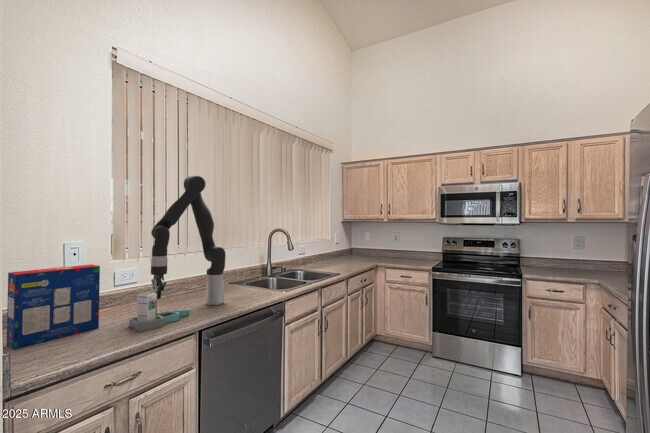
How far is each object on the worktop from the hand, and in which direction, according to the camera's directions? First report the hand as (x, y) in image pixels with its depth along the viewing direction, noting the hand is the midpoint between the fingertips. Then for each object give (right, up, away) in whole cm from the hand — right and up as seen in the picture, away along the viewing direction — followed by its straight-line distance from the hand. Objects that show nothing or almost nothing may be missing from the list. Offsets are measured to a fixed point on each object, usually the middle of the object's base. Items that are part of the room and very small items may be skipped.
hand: (158, 298), depth 164 cm
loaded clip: (+11, -9, 0) cm, 14 cm away
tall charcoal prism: (+5, -9, -4) cm, 11 cm away
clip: (+10, -8, -9) cm, 16 cm away
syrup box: (+3, -8, -17) cm, 19 cm away
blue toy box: (-26, -8, -31) cm, 41 cm away
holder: (+4, -8, -17) cm, 19 cm away
